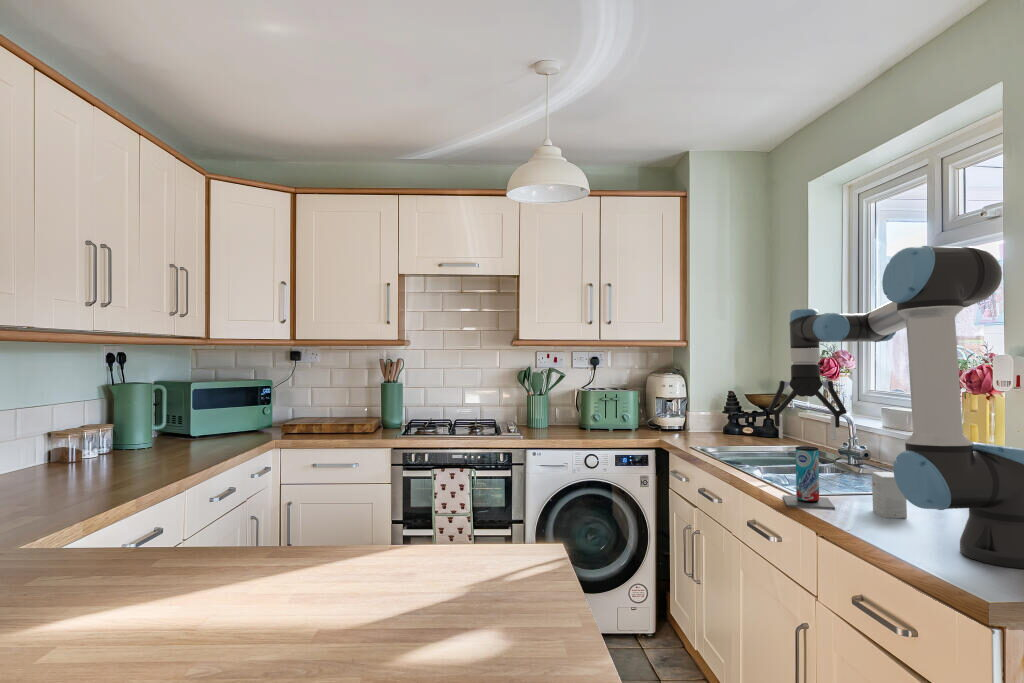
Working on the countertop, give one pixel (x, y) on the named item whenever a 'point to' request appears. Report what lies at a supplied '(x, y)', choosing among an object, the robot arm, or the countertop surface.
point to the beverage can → (807, 474)
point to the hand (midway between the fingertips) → (806, 438)
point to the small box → (887, 496)
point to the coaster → (821, 504)
